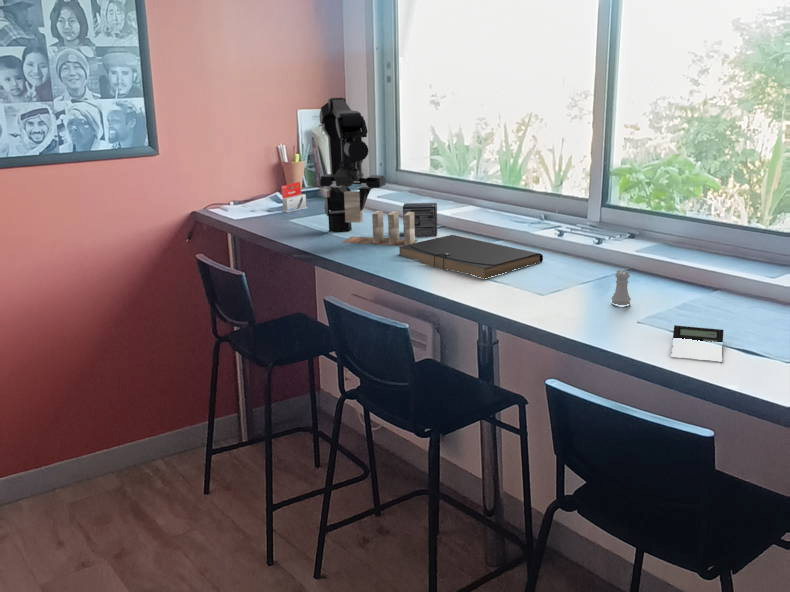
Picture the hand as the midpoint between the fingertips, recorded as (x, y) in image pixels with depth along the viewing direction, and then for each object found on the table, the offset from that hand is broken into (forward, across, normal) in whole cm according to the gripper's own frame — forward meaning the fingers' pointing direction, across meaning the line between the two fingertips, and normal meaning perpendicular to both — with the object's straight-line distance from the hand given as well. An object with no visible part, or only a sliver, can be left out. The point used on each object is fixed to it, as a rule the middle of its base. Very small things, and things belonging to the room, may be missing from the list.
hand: (353, 209), depth 240 cm
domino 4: (+11, +14, +9) cm, 20 cm away
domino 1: (+4, 0, 0) cm, 4 cm away
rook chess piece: (+13, +79, -35) cm, 87 cm away
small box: (+12, +14, +20) cm, 28 cm away
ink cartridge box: (+12, -44, +52) cm, 69 cm away
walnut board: (+12, +5, +9) cm, 16 cm away
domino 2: (+11, +4, +9) cm, 15 cm away
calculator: (+13, +95, -60) cm, 113 cm away
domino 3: (+11, +9, +9) cm, 17 cm away
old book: (+13, +36, -4) cm, 38 cm away
